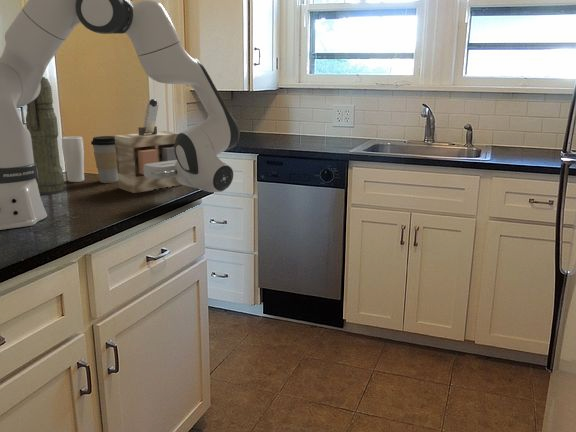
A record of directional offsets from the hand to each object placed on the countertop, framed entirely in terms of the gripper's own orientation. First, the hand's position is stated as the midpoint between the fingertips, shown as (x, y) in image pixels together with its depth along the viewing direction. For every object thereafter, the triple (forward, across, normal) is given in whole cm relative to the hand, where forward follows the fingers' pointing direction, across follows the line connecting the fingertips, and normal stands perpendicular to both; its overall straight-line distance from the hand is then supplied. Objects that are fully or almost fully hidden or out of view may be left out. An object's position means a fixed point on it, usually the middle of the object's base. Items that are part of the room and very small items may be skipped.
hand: (164, 164), depth 168 cm
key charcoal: (+12, +8, -4) cm, 15 cm away
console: (+16, +4, -10) cm, 19 cm away
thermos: (+32, -23, -10) cm, 41 cm away
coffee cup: (+34, -2, -10) cm, 36 cm away
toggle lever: (+16, +4, +8) cm, 18 cm away
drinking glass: (+42, -10, -10) cm, 44 cm away
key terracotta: (+11, 0, -4) cm, 12 cm away
